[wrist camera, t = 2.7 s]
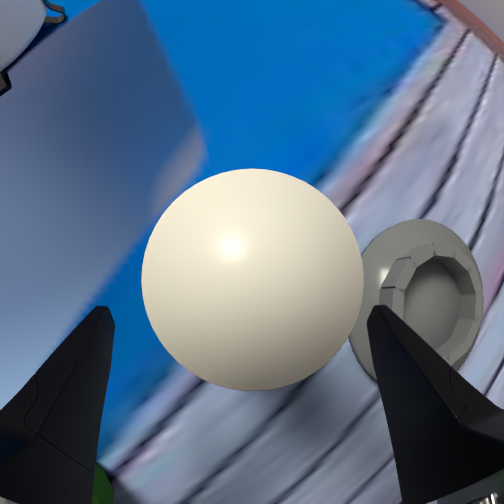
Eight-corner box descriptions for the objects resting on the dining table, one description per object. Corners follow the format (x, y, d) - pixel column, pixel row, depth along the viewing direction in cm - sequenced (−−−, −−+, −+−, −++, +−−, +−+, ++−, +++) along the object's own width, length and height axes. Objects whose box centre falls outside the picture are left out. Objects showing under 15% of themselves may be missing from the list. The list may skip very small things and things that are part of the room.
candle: (217, 338, 18) (202, 424, 6) (186, 271, 19) (110, 223, 6) (284, 306, 19) (393, 326, 6) (252, 240, 19) (304, 140, 6)
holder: (381, 420, 18) (398, 433, 16) (314, 266, 19) (327, 261, 17) (490, 332, 20) (511, 334, 17) (442, 198, 21) (462, 188, 18)
